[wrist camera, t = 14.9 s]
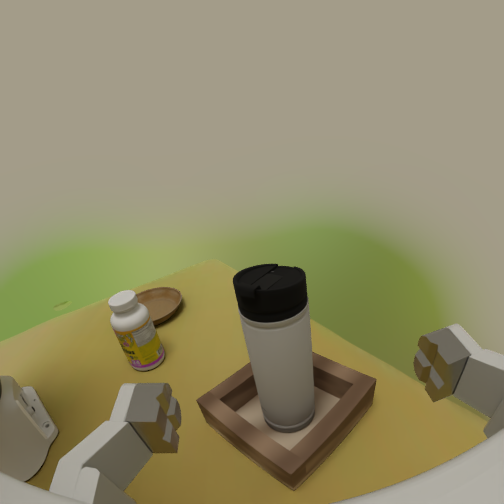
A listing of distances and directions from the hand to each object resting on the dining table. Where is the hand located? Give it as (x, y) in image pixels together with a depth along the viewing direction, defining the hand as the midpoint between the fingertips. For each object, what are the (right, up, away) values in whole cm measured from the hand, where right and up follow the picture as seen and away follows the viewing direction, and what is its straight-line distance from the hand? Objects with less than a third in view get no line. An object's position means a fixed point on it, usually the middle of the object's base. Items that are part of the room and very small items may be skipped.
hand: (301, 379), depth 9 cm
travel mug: (+3, -16, +24) cm, 29 cm away
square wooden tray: (+3, -17, +25) cm, 30 cm away
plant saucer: (-23, -10, +54) cm, 59 cm away
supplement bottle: (-19, -15, +39) cm, 46 cm away
